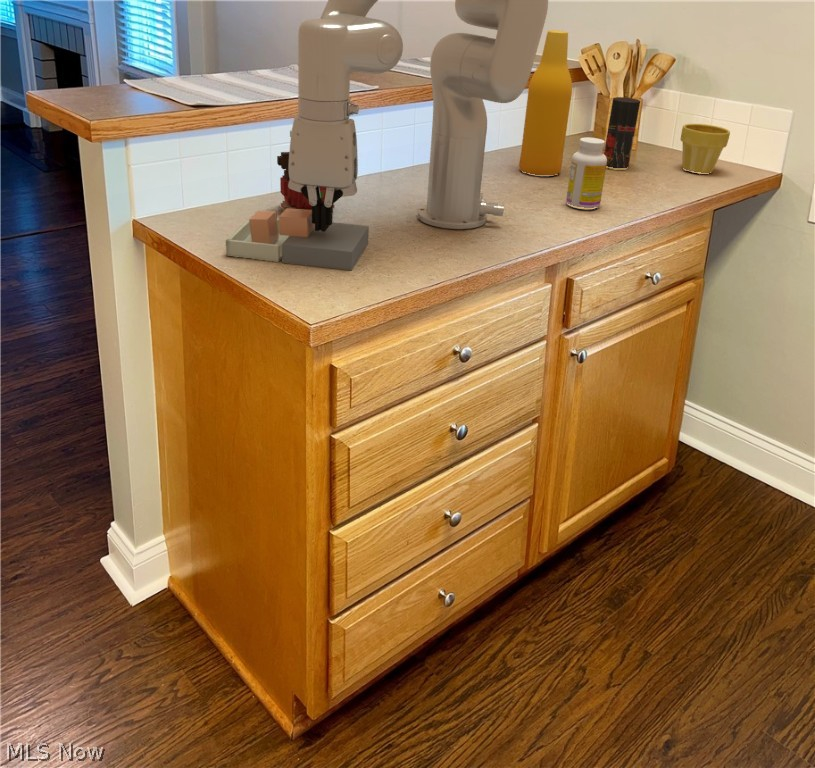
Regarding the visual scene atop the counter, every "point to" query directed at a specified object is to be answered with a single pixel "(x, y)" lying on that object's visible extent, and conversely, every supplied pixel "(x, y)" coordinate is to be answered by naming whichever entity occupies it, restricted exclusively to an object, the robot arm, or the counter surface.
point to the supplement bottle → (587, 174)
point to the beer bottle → (547, 109)
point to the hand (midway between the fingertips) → (322, 228)
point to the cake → (291, 196)
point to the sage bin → (253, 245)
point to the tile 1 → (264, 227)
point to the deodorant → (621, 131)
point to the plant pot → (702, 146)
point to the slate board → (327, 247)
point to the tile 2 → (296, 222)
